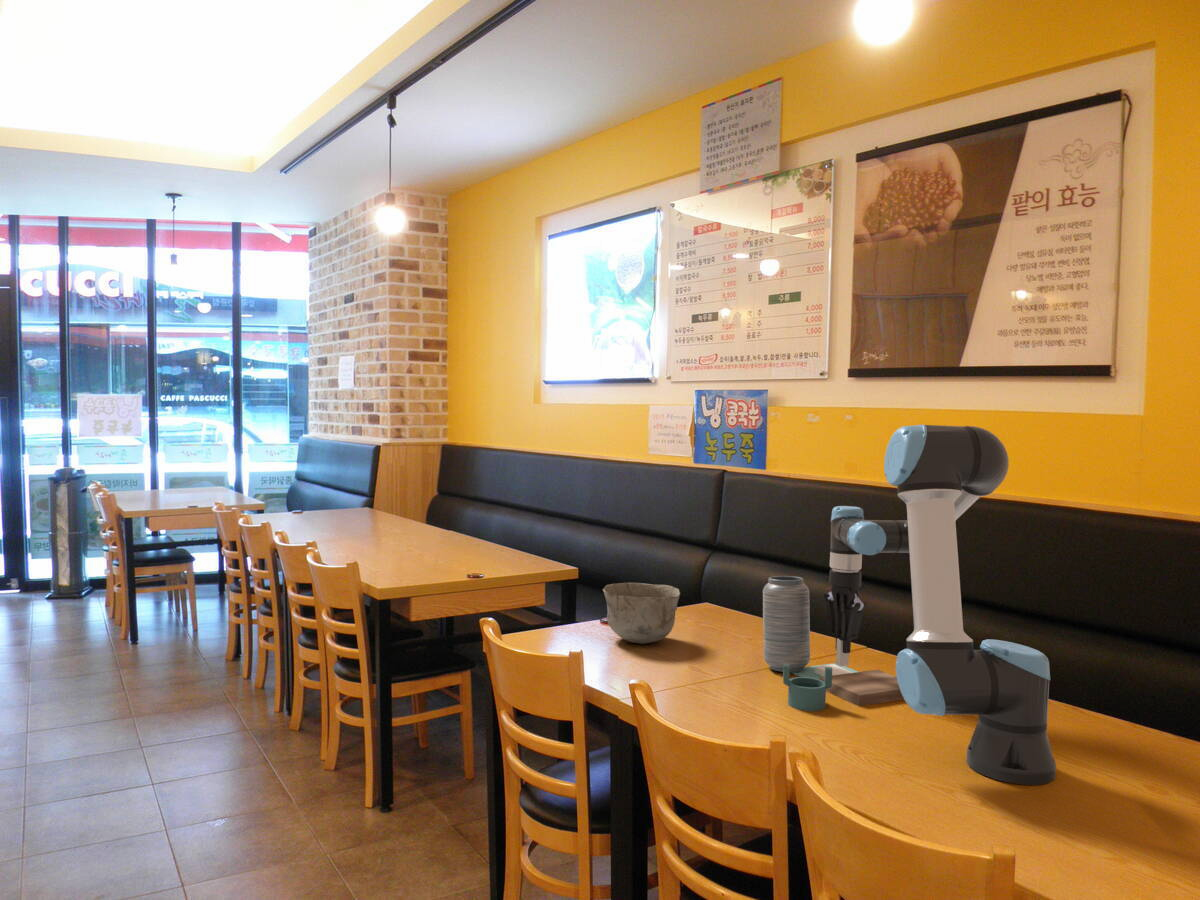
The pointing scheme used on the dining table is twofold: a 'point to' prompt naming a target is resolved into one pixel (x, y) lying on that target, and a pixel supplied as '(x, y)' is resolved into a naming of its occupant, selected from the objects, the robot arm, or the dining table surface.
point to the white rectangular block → (835, 670)
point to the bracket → (807, 690)
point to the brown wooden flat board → (865, 687)
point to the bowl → (641, 610)
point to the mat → (810, 673)
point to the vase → (786, 623)
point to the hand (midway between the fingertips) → (842, 664)
